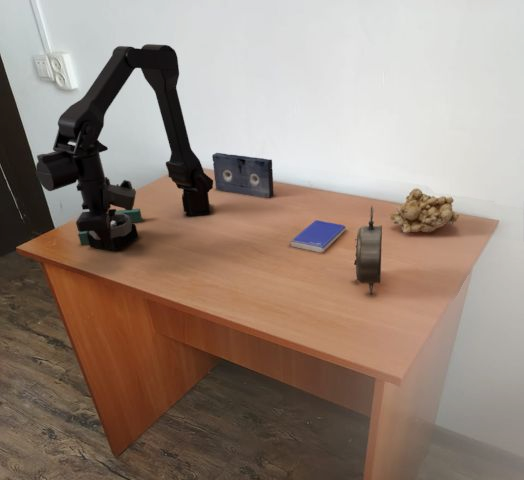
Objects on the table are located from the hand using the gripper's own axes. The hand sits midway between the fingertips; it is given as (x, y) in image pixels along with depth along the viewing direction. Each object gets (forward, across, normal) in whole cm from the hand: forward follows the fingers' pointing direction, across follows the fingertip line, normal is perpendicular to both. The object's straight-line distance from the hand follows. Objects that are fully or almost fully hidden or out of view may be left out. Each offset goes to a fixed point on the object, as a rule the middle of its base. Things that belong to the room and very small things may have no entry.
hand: (108, 244), depth 116 cm
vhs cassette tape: (+2, +33, -33) cm, 47 cm away
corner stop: (+2, +14, +2) cm, 14 cm away
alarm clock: (+3, -24, -55) cm, 60 cm away
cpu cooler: (+3, +7, 0) cm, 8 cm away
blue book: (+3, -2, -49) cm, 49 cm away
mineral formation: (+2, -1, -75) cm, 75 cm away
